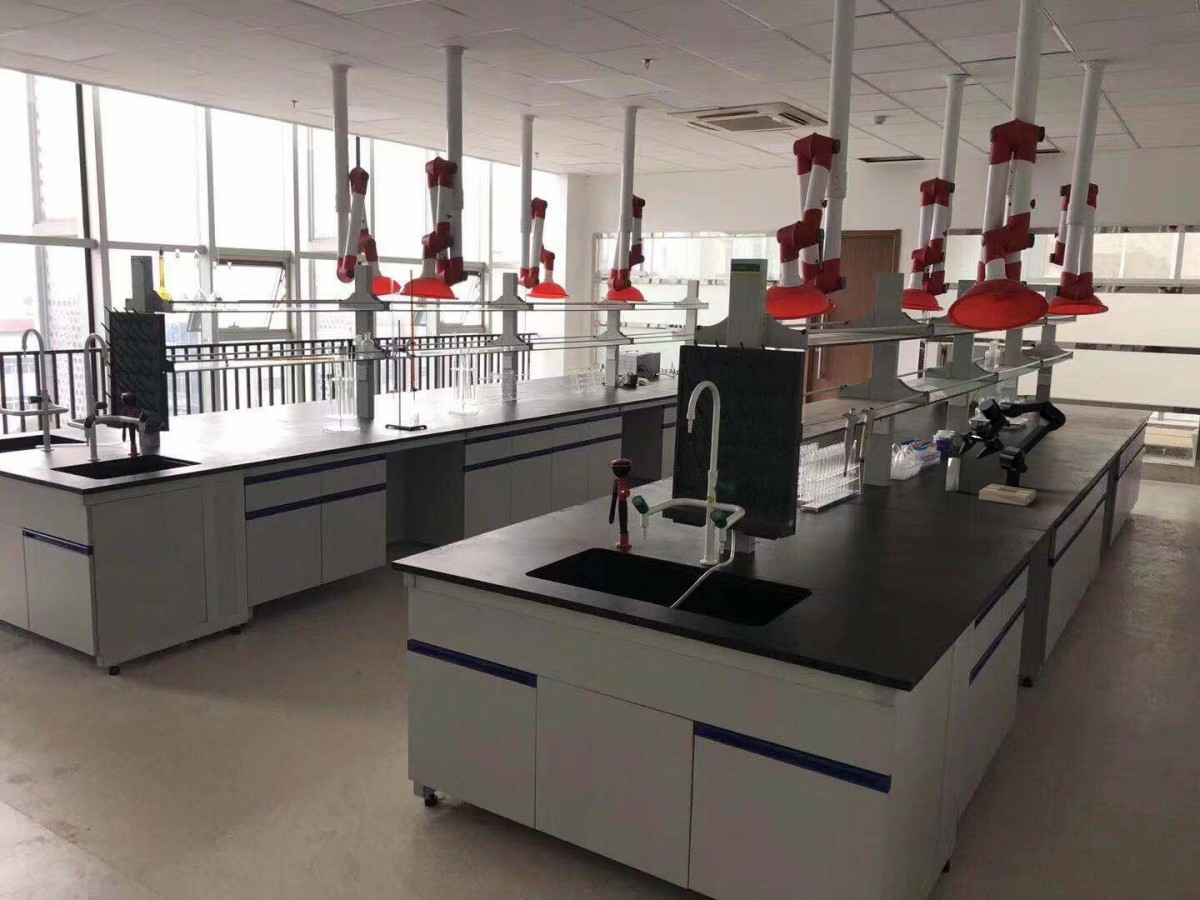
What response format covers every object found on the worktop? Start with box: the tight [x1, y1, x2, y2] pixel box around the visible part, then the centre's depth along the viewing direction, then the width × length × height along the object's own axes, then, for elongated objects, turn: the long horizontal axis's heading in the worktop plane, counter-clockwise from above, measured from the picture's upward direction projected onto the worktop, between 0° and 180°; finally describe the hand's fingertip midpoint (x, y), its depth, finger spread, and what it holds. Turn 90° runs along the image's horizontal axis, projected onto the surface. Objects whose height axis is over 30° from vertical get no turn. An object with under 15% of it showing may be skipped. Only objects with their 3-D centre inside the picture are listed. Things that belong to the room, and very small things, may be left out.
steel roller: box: [945, 457, 961, 492], centre depth 358 cm, size 4×4×12 cm
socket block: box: [978, 483, 1037, 508], centre depth 344 cm, size 16×16×4 cm
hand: (968, 456), depth 359 cm, fingers open, 9 cm apart
